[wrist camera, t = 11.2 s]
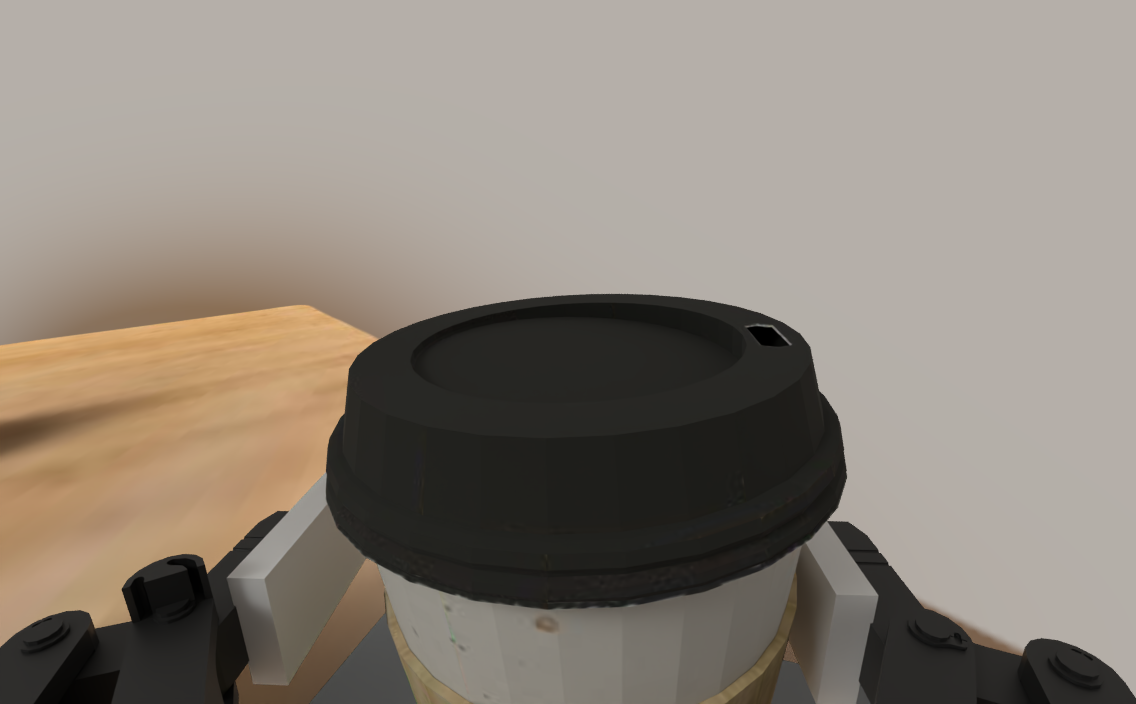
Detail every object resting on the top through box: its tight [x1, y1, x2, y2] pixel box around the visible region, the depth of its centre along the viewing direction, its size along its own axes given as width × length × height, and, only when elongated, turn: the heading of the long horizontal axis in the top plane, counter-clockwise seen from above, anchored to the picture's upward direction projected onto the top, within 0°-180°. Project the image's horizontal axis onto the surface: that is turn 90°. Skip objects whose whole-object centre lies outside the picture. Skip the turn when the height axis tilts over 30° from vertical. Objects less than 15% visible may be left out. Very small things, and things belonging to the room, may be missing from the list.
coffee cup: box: [326, 294, 847, 704], centre depth 13 cm, size 10×10×15 cm
